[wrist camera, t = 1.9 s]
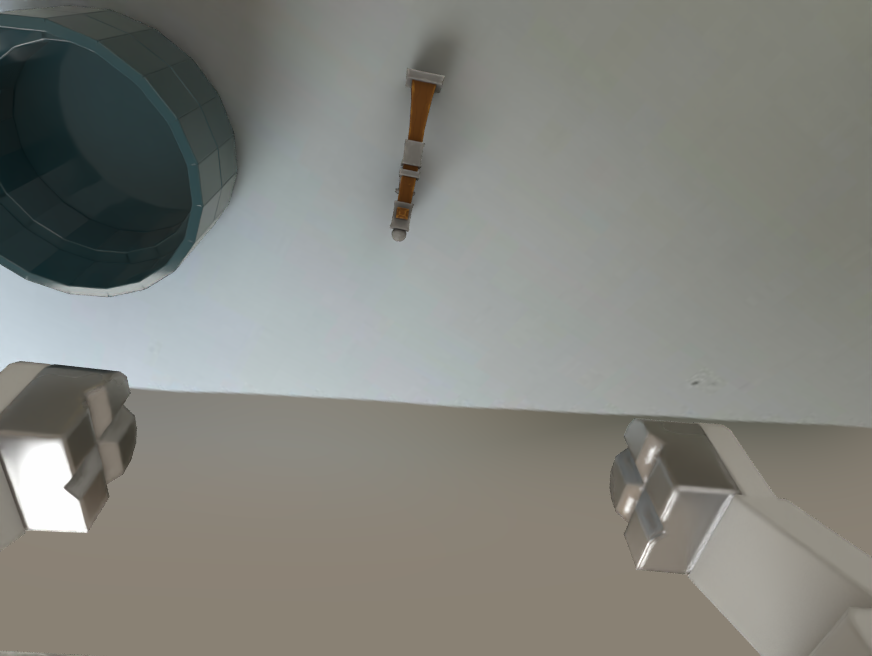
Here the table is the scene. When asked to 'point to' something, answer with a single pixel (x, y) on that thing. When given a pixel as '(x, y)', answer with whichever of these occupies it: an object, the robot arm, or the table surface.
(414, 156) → the wooden post with brackets
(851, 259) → the table surface
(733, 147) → the table surface
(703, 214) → the table surface
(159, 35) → the teal round bowl
